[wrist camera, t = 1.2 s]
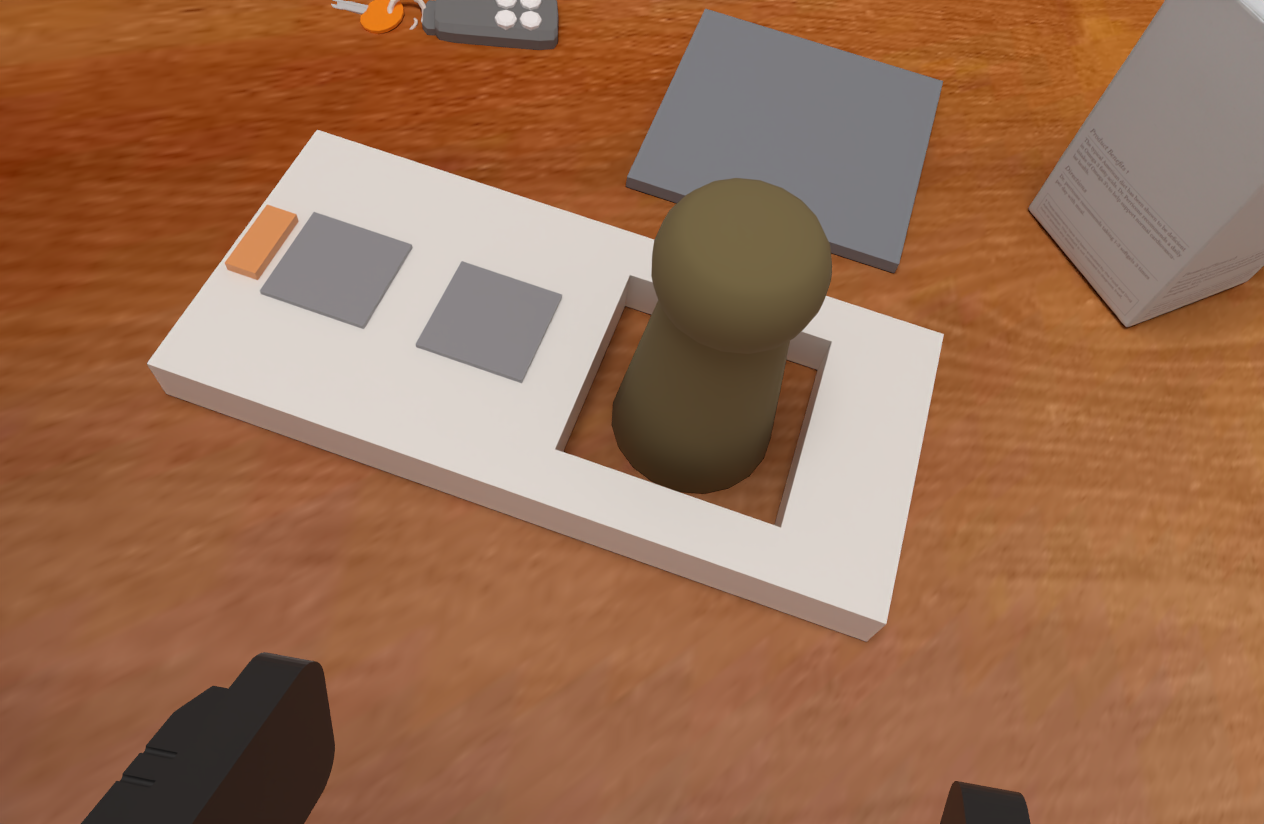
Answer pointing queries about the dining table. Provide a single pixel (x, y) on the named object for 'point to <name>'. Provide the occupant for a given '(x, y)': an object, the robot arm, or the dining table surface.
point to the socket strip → (536, 376)
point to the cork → (720, 333)
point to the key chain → (470, 20)
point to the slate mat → (795, 131)
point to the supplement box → (1169, 165)
